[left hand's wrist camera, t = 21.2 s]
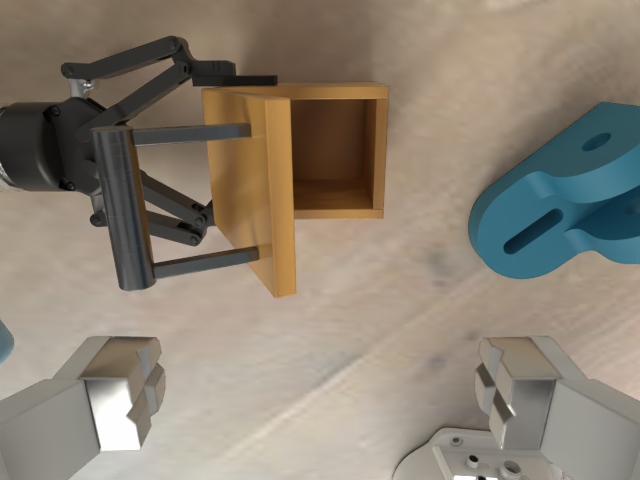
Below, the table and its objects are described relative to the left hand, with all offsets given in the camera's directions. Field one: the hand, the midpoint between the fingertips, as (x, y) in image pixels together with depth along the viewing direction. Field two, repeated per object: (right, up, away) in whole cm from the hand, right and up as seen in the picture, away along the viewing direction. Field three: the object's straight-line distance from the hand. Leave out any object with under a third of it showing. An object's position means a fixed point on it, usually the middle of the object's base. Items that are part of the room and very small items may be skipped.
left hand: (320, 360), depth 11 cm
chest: (-1, +13, +34) cm, 37 cm away
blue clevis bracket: (+24, +7, +37) cm, 44 cm away
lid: (-4, +7, +18) cm, 19 cm away
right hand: (-4, +11, +28) cm, 31 cm away
